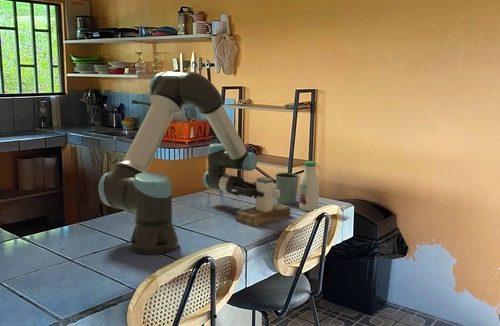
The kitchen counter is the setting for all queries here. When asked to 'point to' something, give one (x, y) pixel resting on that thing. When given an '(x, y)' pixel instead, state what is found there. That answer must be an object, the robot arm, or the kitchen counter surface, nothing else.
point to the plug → (264, 185)
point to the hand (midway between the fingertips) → (275, 195)
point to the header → (262, 215)
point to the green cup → (287, 187)
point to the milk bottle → (309, 188)
